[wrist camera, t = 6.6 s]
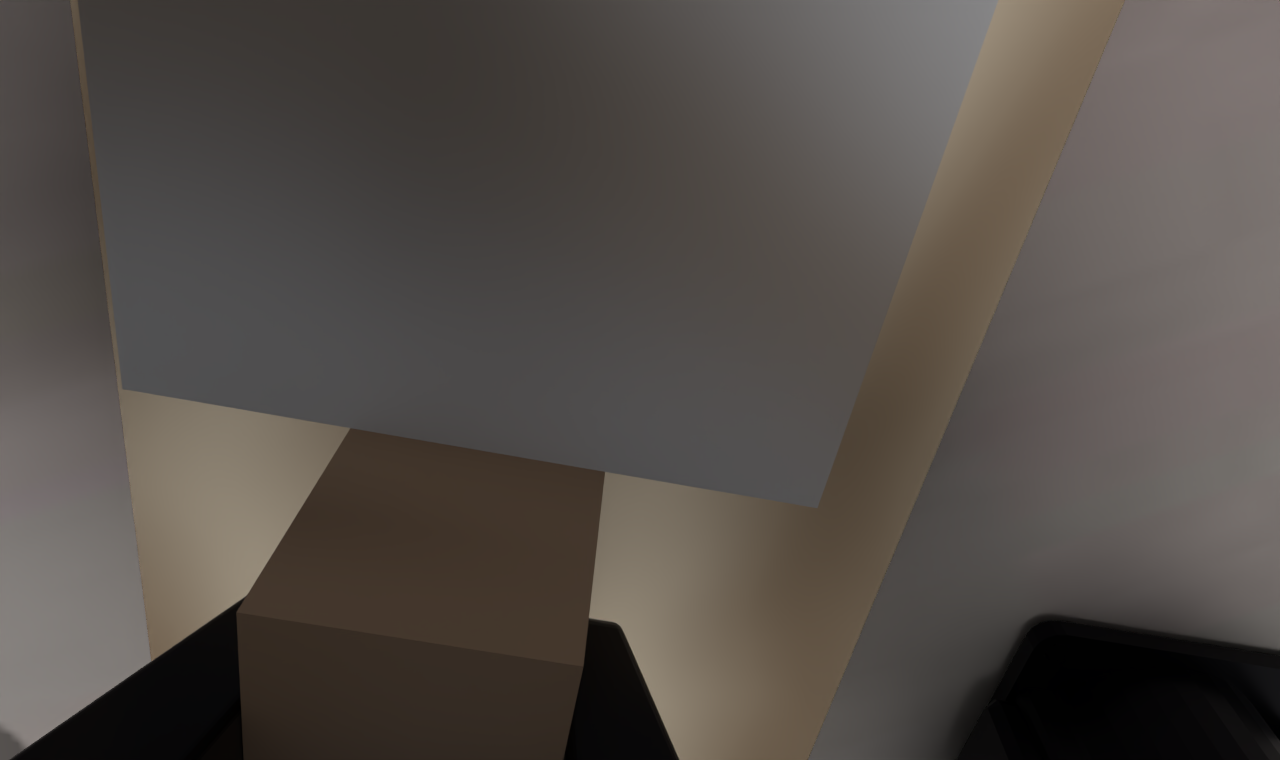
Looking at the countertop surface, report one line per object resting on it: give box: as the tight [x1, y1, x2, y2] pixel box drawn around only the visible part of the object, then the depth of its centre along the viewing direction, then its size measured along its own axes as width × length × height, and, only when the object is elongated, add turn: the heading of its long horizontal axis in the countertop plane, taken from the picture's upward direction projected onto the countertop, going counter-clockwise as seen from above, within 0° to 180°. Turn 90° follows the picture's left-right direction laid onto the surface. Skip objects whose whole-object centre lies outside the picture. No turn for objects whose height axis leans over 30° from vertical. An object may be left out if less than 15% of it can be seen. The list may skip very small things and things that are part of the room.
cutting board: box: [70, 0, 1125, 760], centre depth 15 cm, size 14×28×1 cm, turn 170°
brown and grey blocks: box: [78, 0, 998, 760], centre depth 7 cm, size 12×6×3 cm, turn 169°
